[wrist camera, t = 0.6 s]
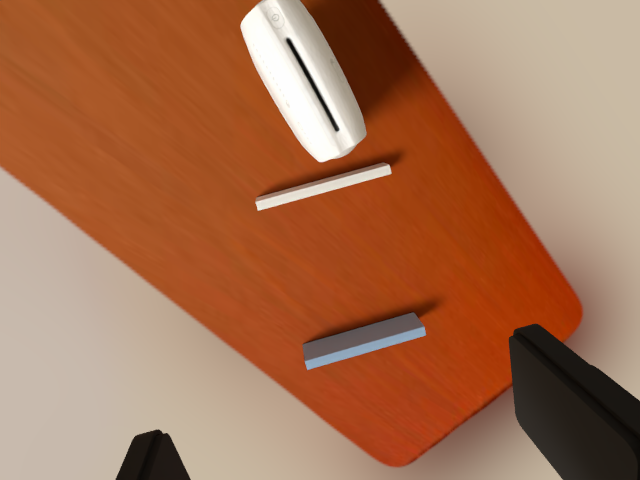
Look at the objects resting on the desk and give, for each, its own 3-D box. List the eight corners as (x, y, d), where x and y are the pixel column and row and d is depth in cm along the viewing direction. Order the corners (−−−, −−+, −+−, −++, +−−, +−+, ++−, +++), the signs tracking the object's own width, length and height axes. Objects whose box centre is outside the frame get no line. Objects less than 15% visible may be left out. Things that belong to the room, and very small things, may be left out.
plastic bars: (256, 197, 35) (254, 204, 33) (383, 162, 36) (392, 166, 33) (305, 352, 41) (307, 369, 38) (415, 320, 41) (426, 335, 38)
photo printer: (242, 49, 32) (223, 7, 20) (287, 20, 32) (295, -39, 20) (307, 159, 35) (324, 179, 23) (348, 134, 35) (386, 141, 23)
